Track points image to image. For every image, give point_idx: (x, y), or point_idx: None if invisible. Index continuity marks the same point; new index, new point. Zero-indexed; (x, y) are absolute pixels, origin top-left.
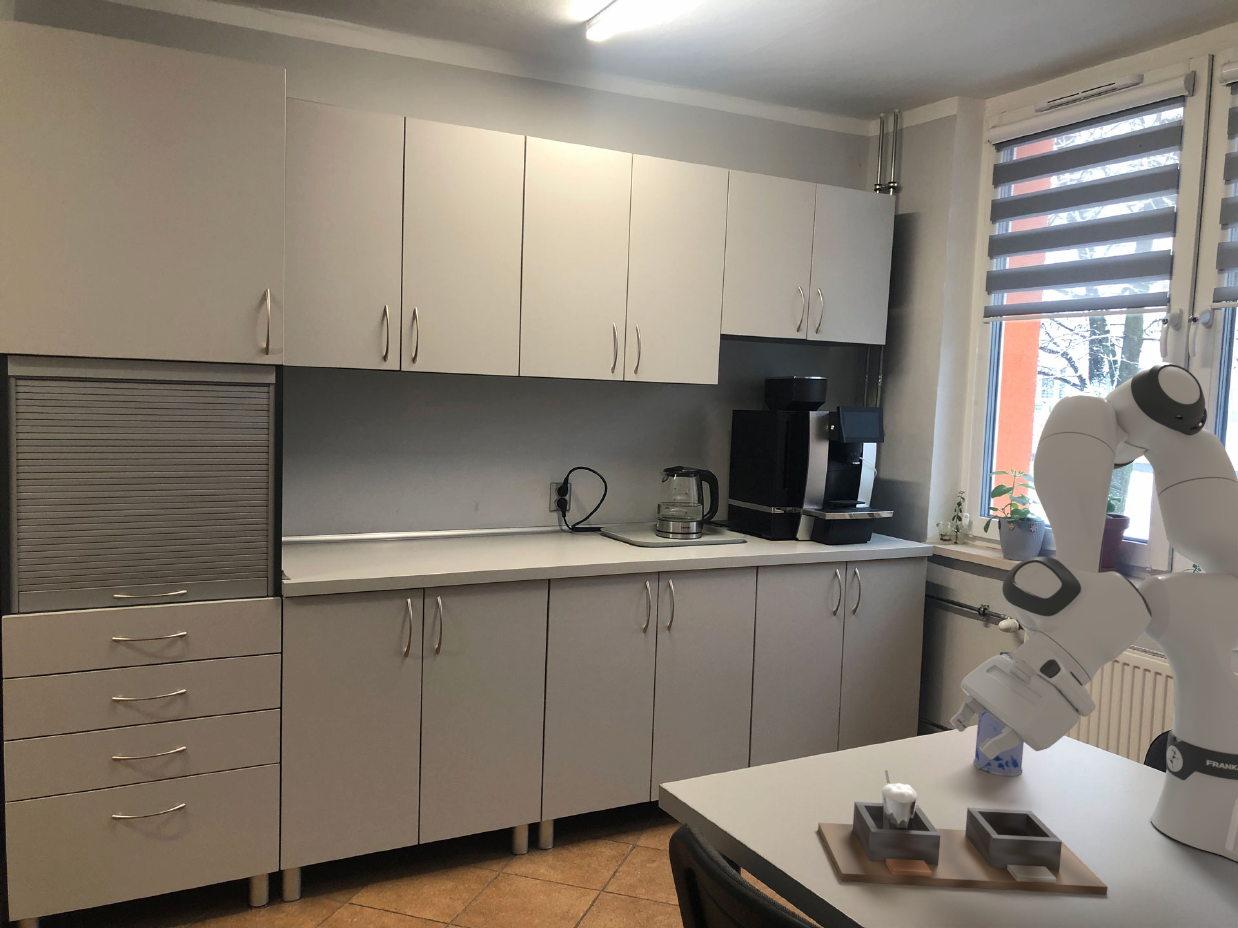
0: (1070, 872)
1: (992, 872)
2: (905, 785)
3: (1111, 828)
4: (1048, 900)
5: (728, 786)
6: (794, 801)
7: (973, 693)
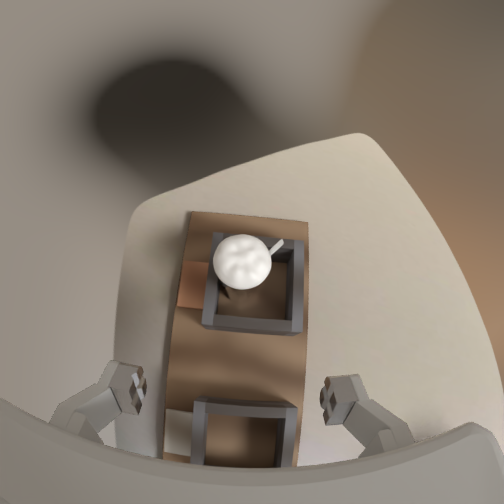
0: None
1: (187, 390)
2: (247, 267)
3: None
4: (146, 426)
5: (382, 173)
6: (368, 223)
7: (388, 457)
